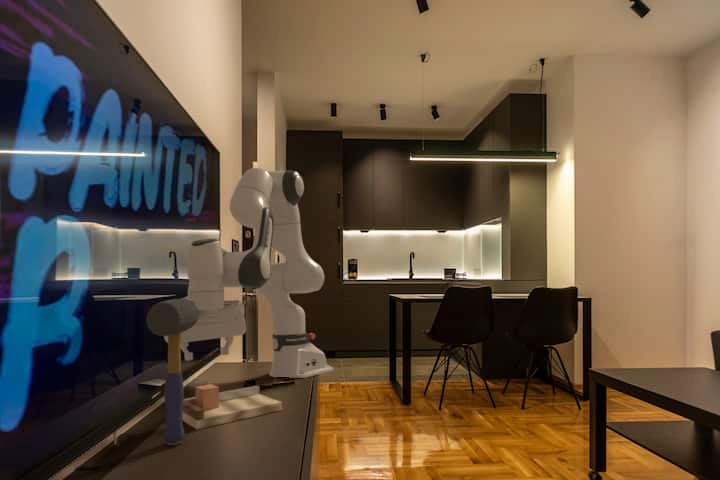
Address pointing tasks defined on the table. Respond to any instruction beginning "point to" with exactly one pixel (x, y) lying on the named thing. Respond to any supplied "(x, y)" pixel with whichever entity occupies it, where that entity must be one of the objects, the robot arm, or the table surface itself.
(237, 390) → the steel straightedge
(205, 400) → the block
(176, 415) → the rubber mallet
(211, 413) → the birch board
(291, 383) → the table surface
